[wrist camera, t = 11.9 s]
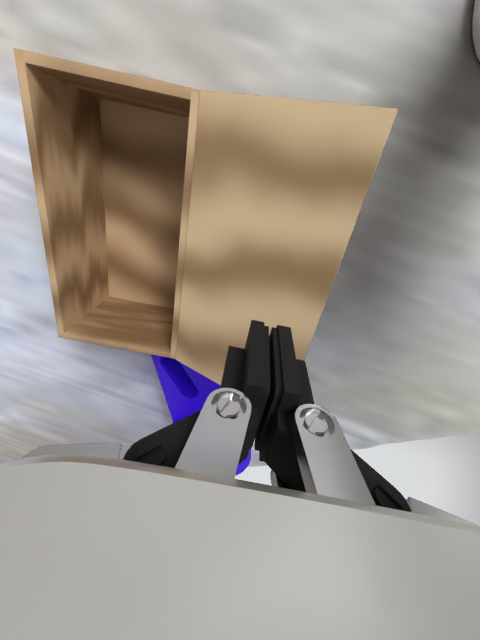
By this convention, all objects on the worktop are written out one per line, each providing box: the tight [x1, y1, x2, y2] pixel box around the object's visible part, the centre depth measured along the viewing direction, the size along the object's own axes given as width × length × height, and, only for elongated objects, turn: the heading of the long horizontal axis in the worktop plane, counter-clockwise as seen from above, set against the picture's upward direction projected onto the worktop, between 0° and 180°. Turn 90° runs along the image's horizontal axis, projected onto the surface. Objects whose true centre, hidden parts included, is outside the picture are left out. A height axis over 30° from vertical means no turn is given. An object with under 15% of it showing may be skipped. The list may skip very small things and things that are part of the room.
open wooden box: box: [14, 48, 200, 359], centre depth 27 cm, size 22×12×10 cm, turn 169°
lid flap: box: [176, 90, 397, 385], centre depth 21 cm, size 22×12×1 cm, turn 169°
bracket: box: [151, 354, 251, 475], centre depth 37 cm, size 18×11×12 cm, turn 24°
